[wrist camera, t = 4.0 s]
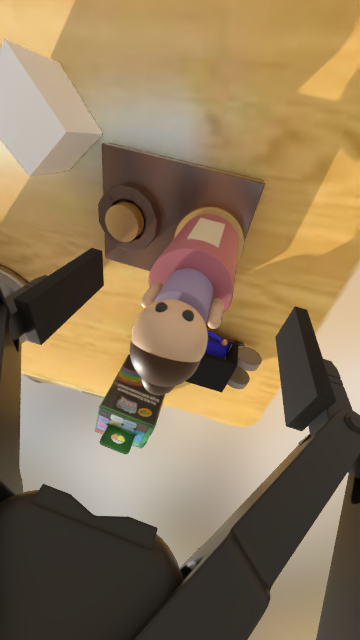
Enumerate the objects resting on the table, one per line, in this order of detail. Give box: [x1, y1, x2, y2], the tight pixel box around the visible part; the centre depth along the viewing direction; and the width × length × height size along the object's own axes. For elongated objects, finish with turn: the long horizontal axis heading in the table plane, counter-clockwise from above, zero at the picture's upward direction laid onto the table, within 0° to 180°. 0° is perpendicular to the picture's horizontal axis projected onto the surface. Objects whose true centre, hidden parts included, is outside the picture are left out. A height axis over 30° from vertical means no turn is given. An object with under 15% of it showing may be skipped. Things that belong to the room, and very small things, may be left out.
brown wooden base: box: [98, 143, 265, 271], centre depth 25 cm, size 16×12×4 cm
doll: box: [130, 207, 244, 395], centre depth 17 cm, size 7×7×17 cm
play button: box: [105, 202, 144, 242], centre depth 24 cm, size 4×4×2 cm
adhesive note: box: [0, 39, 103, 177], centre depth 21 cm, size 6×6×6 cm
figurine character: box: [186, 331, 262, 392], centre depth 34 cm, size 7×8×15 cm
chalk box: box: [95, 354, 165, 454], centre depth 40 cm, size 9×9×15 cm
